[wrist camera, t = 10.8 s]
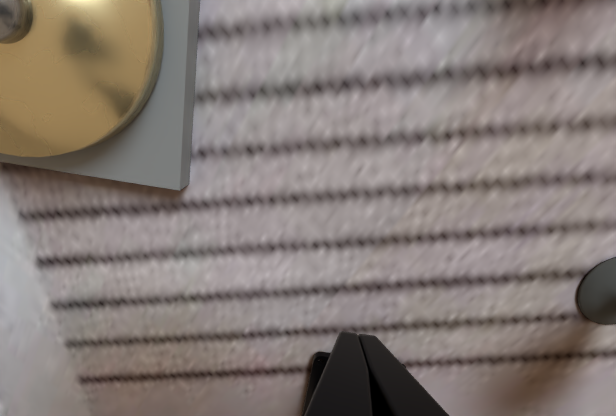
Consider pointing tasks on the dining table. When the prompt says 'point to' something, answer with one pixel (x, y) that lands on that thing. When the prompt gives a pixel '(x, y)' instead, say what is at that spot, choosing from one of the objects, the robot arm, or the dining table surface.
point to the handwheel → (74, 71)
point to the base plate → (148, 119)
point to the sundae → (599, 293)
